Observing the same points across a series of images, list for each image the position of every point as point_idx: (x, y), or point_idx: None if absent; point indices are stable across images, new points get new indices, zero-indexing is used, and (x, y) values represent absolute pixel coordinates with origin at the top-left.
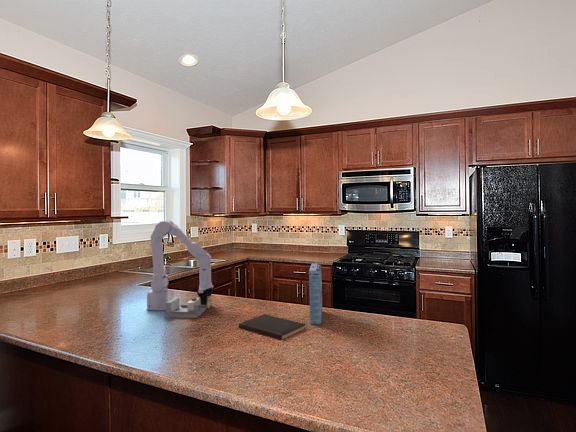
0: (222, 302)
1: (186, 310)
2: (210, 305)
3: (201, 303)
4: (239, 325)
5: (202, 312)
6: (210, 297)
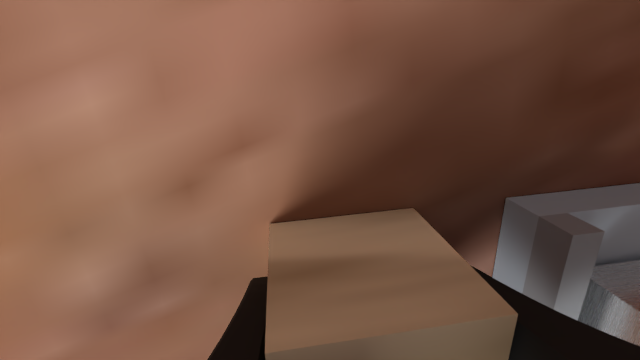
0: (29, 107)
1: None
2: (306, 224)
3: None
4: None
5: (627, 187)
6: (310, 318)
